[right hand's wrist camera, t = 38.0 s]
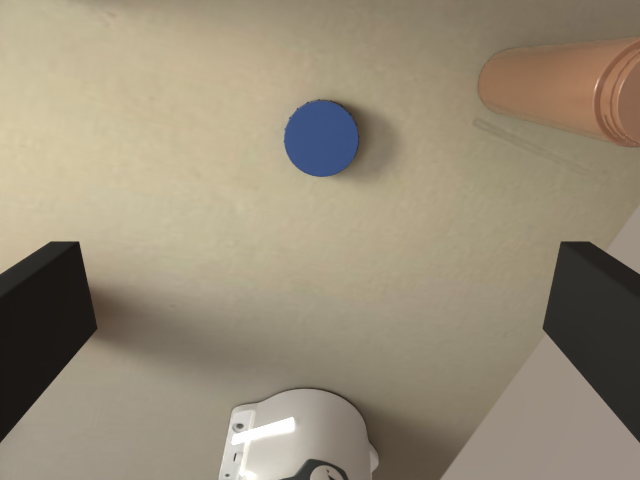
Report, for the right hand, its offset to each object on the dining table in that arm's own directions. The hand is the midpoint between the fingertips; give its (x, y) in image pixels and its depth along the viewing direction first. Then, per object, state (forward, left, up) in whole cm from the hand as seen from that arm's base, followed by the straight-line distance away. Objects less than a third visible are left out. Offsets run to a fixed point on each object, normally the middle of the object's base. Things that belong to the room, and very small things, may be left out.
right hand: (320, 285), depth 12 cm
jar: (+16, -6, -30) cm, 35 cm away
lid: (0, 0, -29) cm, 29 cm away
